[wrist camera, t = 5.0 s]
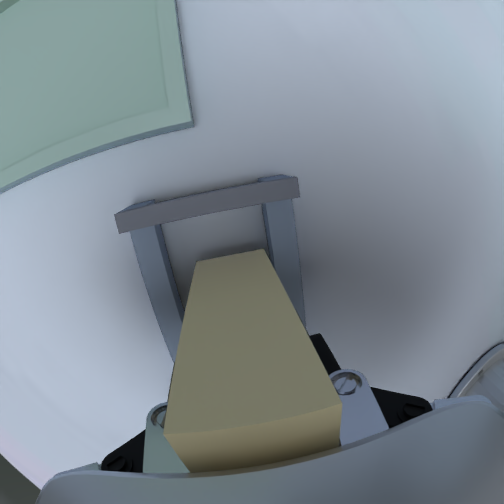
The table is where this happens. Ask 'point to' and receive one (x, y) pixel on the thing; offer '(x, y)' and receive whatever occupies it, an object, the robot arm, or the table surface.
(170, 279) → the dispenser
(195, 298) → the block
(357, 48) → the table surface
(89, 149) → the tray
